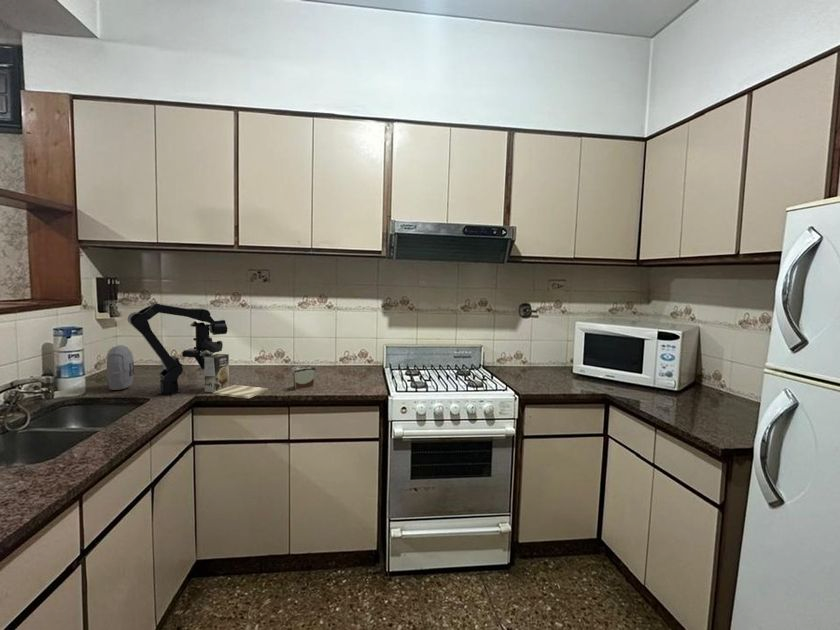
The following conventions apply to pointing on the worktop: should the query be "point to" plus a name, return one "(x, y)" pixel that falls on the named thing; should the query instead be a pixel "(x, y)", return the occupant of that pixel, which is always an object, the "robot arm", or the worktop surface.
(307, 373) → the food container
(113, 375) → the grey rounded bag
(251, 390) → the cutting board
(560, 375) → the worktop surface
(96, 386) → the worktop surface
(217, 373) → the coffee box
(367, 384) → the worktop surface
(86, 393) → the worktop surface
